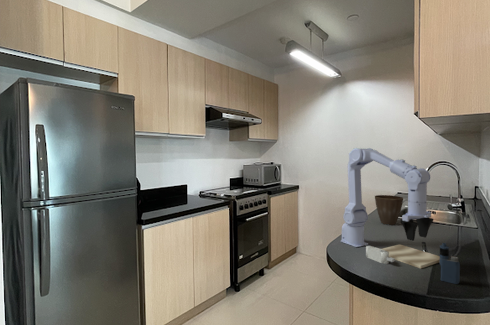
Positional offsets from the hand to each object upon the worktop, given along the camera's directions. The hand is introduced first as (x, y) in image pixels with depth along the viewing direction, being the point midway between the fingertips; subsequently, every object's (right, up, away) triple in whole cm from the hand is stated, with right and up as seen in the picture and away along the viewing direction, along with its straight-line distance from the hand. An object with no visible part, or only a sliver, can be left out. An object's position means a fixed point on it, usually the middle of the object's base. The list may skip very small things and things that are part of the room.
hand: (416, 238), depth 99 cm
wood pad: (+3, -10, +9) cm, 13 cm away
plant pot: (+22, -9, +61) cm, 65 cm away
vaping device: (+2, -11, -12) cm, 16 cm away
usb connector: (-11, -10, +5) cm, 16 cm away
